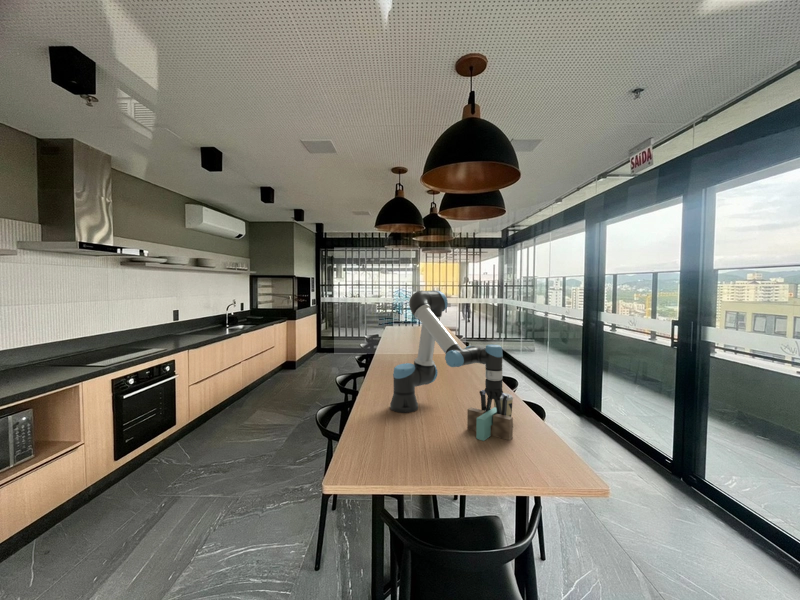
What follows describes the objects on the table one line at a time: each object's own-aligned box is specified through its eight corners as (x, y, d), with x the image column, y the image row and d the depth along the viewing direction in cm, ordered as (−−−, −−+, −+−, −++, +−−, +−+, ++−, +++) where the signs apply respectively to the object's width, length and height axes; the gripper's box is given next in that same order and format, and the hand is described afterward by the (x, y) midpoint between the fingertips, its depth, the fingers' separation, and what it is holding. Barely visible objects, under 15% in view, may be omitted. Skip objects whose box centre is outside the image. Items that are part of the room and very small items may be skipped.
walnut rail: (467, 428, 158) (467, 409, 157) (471, 426, 160) (471, 407, 160) (509, 440, 145) (509, 419, 145) (512, 437, 148) (512, 417, 147)
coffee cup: (514, 423, 164) (514, 398, 163) (493, 421, 166) (494, 397, 165) (511, 416, 173) (511, 393, 173) (492, 415, 175) (492, 391, 174)
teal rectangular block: (476, 438, 147) (476, 418, 147) (494, 426, 161) (494, 407, 160) (483, 440, 145) (484, 420, 144) (501, 427, 158) (501, 408, 158)
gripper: (473, 377, 158) (473, 427, 158) (508, 383, 147) (508, 437, 148) (480, 374, 164) (480, 422, 164) (514, 380, 153) (514, 431, 154)
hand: (493, 429), depth 156 cm, fingers closed on teal rectangular block, 4 cm apart
